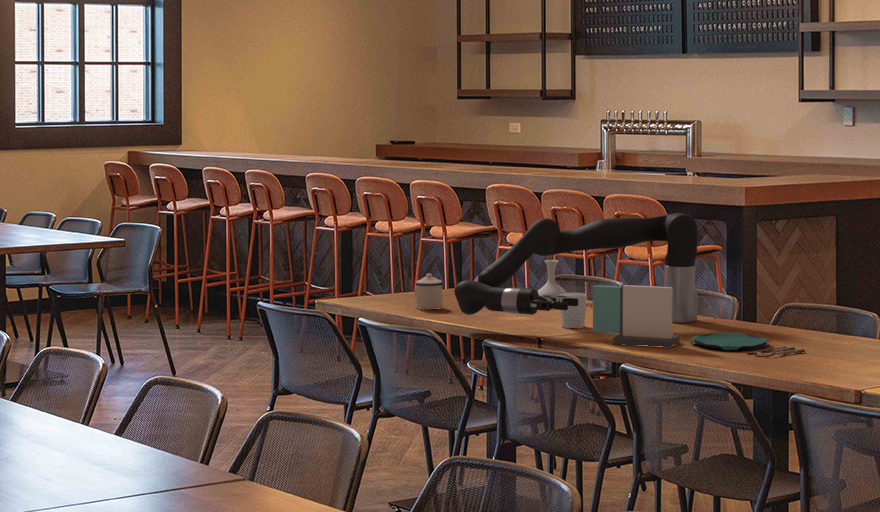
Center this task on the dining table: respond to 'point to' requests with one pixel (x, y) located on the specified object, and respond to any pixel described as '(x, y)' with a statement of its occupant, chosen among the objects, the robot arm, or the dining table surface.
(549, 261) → the flower in vase
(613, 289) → the teal flat panel
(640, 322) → the ticket stand
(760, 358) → the dining table surface
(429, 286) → the teacup with lid
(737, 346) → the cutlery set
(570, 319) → the white cup
